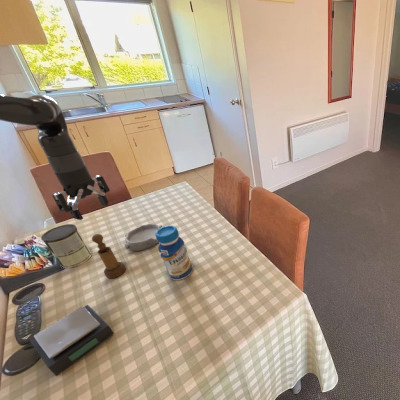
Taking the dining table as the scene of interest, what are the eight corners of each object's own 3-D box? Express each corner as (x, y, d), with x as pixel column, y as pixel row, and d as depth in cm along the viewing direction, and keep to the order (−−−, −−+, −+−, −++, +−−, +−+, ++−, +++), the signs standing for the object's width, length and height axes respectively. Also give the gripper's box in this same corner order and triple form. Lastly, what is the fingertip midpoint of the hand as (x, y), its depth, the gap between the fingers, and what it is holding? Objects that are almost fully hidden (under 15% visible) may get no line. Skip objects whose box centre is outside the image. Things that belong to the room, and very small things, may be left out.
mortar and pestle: (108, 268, 104) (87, 232, 95) (127, 264, 106) (109, 227, 97) (104, 280, 98) (81, 243, 89) (124, 275, 101) (104, 238, 92)
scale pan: (50, 359, 69) (49, 357, 69) (34, 337, 74) (33, 335, 74) (100, 324, 78) (99, 323, 77) (83, 307, 83) (82, 305, 82)
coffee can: (53, 267, 105) (33, 239, 98) (77, 250, 114) (60, 223, 107) (75, 269, 104) (57, 241, 96) (98, 252, 112) (82, 224, 105)
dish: (165, 229, 126) (162, 220, 123) (160, 247, 114) (156, 238, 112) (131, 235, 122) (127, 227, 119) (122, 255, 110) (117, 246, 108)
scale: (56, 377, 70) (47, 367, 67) (37, 348, 77) (27, 338, 74) (114, 334, 80) (108, 324, 78) (93, 312, 87) (86, 302, 84)
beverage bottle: (185, 261, 107) (171, 221, 97) (198, 270, 102) (184, 228, 92) (165, 274, 101) (147, 232, 91) (177, 284, 96) (159, 241, 86)
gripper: (83, 157, 86) (104, 200, 95) (32, 175, 75) (61, 222, 83) (101, 159, 85) (121, 203, 93) (52, 178, 73) (79, 226, 81)
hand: (93, 212), depth 88 cm, fingers open, 8 cm apart
